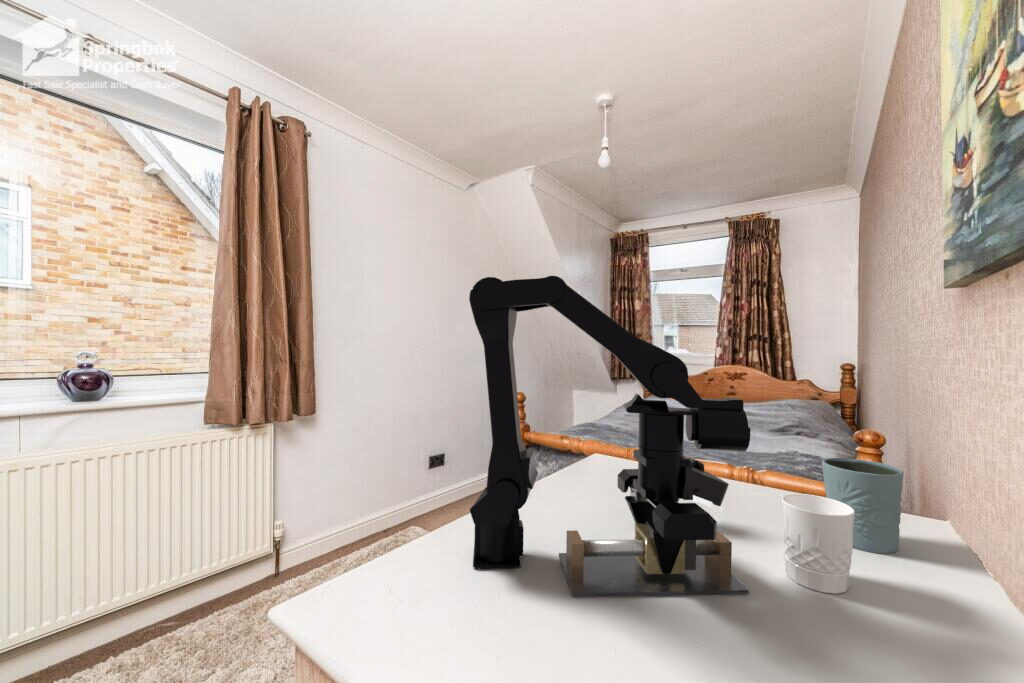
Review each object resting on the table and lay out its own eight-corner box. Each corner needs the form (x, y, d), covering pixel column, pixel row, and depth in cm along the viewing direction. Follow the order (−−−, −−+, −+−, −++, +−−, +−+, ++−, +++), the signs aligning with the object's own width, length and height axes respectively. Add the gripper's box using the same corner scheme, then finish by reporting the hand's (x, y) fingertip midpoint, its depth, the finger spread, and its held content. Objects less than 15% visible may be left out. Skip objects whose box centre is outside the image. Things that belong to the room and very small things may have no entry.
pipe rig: (572, 597, 52) (572, 555, 52) (558, 556, 62) (559, 521, 62) (748, 594, 53) (749, 553, 53) (707, 554, 63) (708, 520, 63)
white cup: (821, 601, 52) (822, 518, 52) (766, 568, 60) (767, 495, 60) (870, 592, 54) (870, 512, 54) (811, 561, 62) (811, 491, 62)
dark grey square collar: (683, 570, 56) (684, 539, 56) (670, 554, 60) (671, 526, 60) (695, 569, 56) (696, 539, 56) (682, 554, 60) (682, 525, 60)
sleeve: (646, 574, 55) (647, 538, 55) (634, 556, 60) (635, 523, 60) (684, 573, 56) (685, 537, 56) (669, 556, 60) (670, 523, 60)
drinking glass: (895, 563, 62) (896, 479, 62) (812, 537, 69) (813, 463, 70) (908, 543, 68) (909, 466, 68) (831, 522, 76) (832, 453, 76)
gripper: (762, 466, 49) (760, 604, 49) (687, 432, 68) (685, 532, 68) (666, 466, 48) (664, 606, 48) (617, 432, 67) (615, 533, 67)
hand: (658, 563), depth 58 cm, fingers closed on sleeve, 4 cm apart
